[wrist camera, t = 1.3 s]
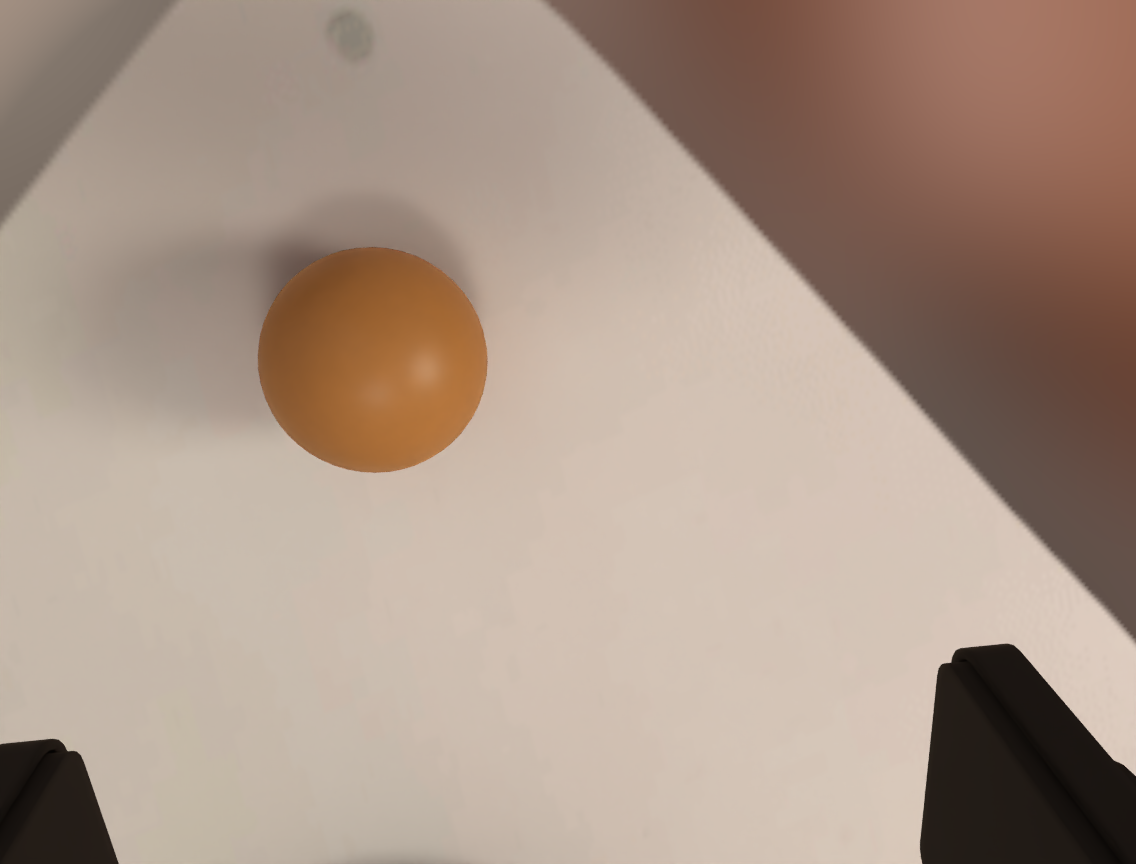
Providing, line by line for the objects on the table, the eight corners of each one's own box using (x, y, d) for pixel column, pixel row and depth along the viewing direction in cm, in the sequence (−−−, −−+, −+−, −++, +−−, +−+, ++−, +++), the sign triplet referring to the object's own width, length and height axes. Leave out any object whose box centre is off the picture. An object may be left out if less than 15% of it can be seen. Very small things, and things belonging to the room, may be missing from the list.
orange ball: (292, 422, 27) (244, 512, 22) (275, 225, 25) (218, 275, 20) (488, 422, 27) (486, 511, 22) (488, 229, 25) (486, 278, 20)
